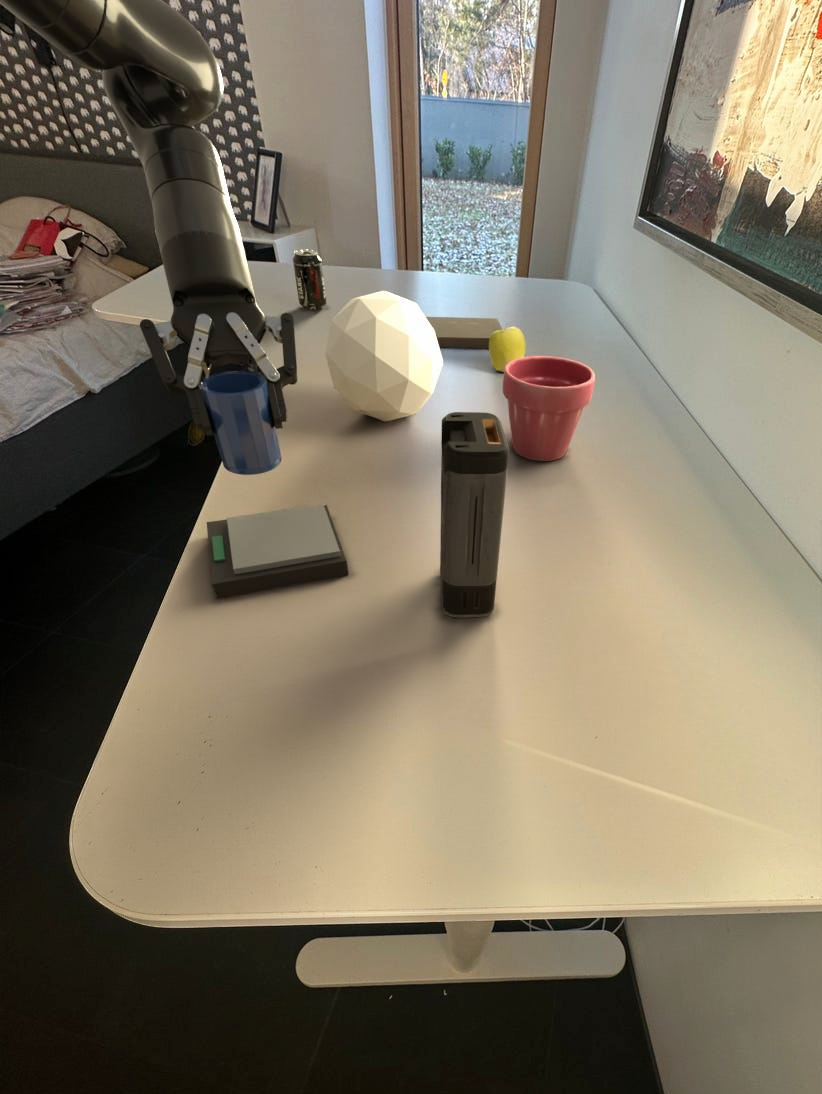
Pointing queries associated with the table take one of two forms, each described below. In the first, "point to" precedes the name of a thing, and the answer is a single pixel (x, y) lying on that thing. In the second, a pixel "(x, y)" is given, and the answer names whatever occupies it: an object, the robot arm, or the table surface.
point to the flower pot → (545, 403)
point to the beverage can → (309, 279)
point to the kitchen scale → (274, 550)
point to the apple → (506, 347)
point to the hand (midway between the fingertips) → (244, 428)
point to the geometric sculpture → (383, 356)
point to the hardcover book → (464, 331)
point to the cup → (242, 421)
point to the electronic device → (471, 511)
